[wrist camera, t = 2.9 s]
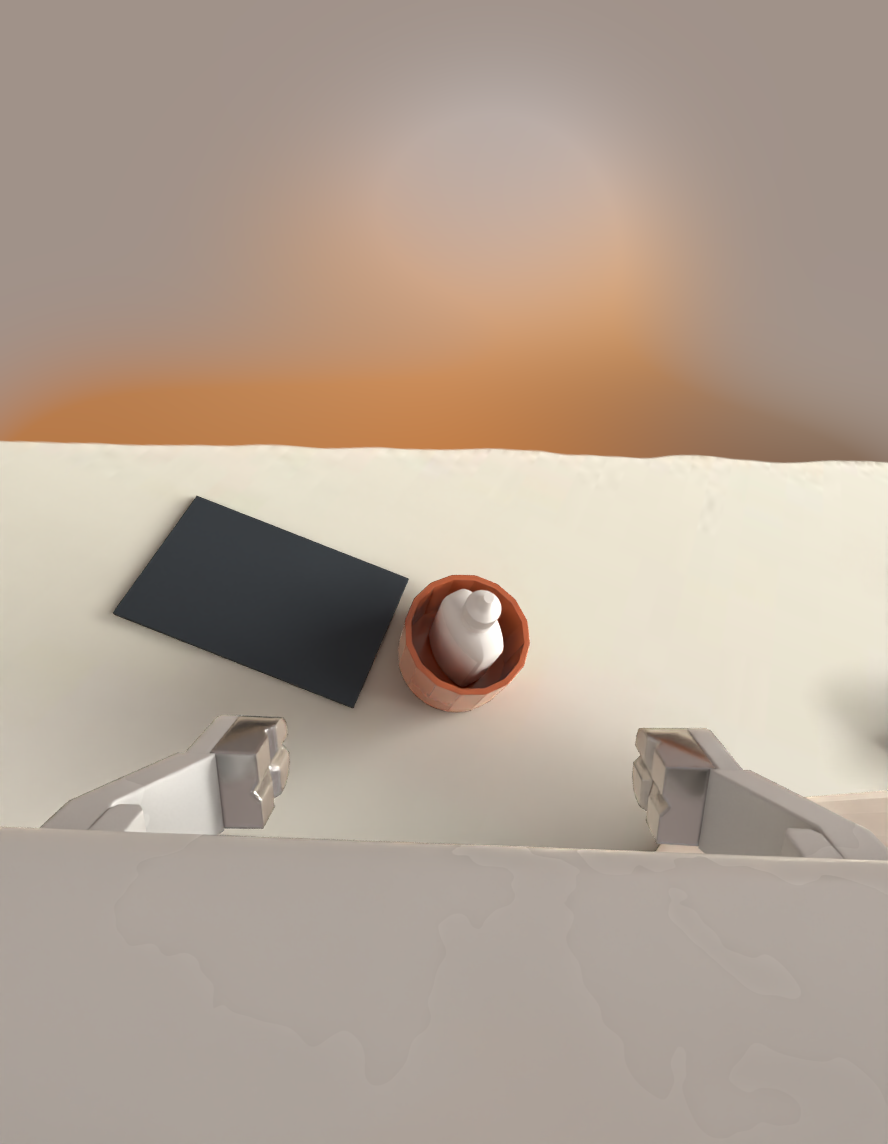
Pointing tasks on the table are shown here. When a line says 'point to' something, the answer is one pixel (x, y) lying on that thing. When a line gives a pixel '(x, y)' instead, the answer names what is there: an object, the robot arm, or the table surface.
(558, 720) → the table surface
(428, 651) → the cup
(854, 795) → the white curved half cylinder
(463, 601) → the eye dropper bottle
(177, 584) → the mat
